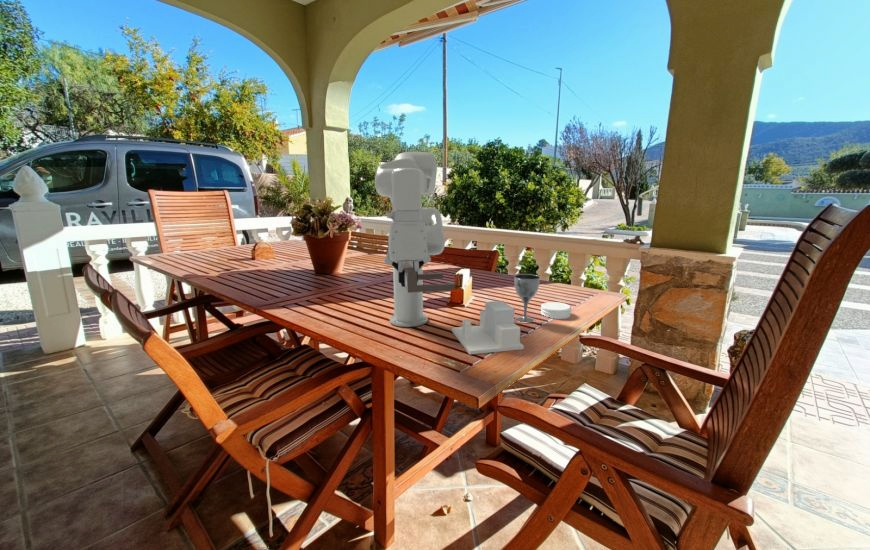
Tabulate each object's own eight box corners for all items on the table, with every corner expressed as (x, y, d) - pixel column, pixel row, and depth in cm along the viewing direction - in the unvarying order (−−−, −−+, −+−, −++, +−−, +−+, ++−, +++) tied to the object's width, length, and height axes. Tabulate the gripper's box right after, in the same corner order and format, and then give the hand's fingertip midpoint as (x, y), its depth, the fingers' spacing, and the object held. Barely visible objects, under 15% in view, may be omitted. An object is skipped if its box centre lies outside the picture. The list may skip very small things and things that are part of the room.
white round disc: (570, 321, 128) (571, 311, 127) (539, 318, 131) (540, 308, 130) (570, 312, 137) (571, 302, 136) (541, 309, 140) (542, 300, 139)
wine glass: (529, 325, 123) (532, 280, 119) (508, 320, 128) (510, 276, 124) (541, 319, 128) (544, 276, 125) (520, 314, 134) (522, 272, 130)
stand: (498, 326, 122) (499, 296, 120) (523, 349, 105) (525, 314, 103) (451, 330, 118) (451, 299, 116) (469, 354, 101) (470, 318, 99)
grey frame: (442, 277, 113) (442, 260, 112) (454, 289, 100) (455, 271, 99) (400, 279, 111) (399, 262, 109) (407, 292, 97) (407, 273, 96)
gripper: (377, 219, 95) (379, 290, 99) (440, 217, 98) (440, 286, 102) (374, 216, 102) (377, 283, 106) (433, 215, 105) (434, 280, 110)
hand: (408, 284), depth 104 cm, fingers closed on grey frame
